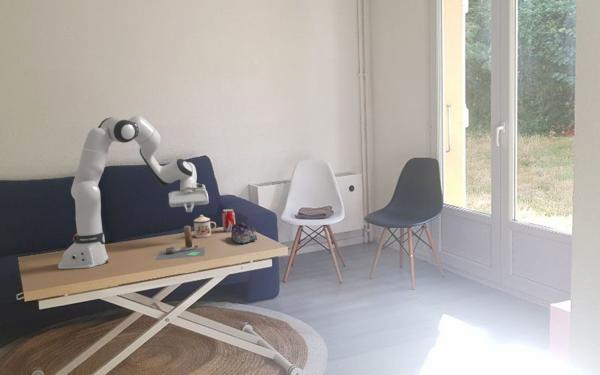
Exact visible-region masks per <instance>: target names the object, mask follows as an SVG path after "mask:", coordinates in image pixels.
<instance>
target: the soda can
mask: <svg viewBox="0 0 600 375" xmlns="http://www.w3.org/2000/svg"><path fill="white" fill-rule="evenodd" d="M221 220H222V230H223V231H224V232H226V233H231V232H232V228H231V226H233V225H234V224H236V214H235V211H234V208H228V209H227V208H226V209H223V210H222V213H221Z"/></svg>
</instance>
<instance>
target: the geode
mask: <svg viewBox="0 0 600 375" xmlns="http://www.w3.org/2000/svg"><path fill="white" fill-rule="evenodd" d="M231 228H232V232H230V233H231V237H230V238H231V240H232V241H234V242H235V243H237V244H241V245H245V244H247V243H251V242H253V241H257V240H258V236H257V235H258V234H257V231H256V229H255V228H254V227H253V226H249V225H247V224H245V223H244V222H243V221H242V220H240V222H237V221H235V224H234V225H233V226H231Z"/></svg>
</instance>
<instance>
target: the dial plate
mask: <svg viewBox="0 0 600 375" xmlns="http://www.w3.org/2000/svg"><path fill="white" fill-rule="evenodd" d="M205 251H206V247H205V246H202V247H201V246H200V247H197V248H190V249H184V250H178V251H175V253H173V254H166V250H159V252H158V253H157V256H156V258H155V261H163V260H172V259H182V258H183V259H185V258H193V257H194V258H195V257H204V256H205V253H206V252H205Z"/></svg>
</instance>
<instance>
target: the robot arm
mask: <svg viewBox="0 0 600 375" xmlns="http://www.w3.org/2000/svg"><path fill="white" fill-rule="evenodd" d="M160 134H161V133H159V131H158V129H156V128H155V127H154V126H153V125H152V124H151V123H150V122H149V121H148V120H146V119H145V118H144V117H142V116H140V115H134V116H132V117H130V118H129V119H123V118H120V117H107V118H105V119H103V120H102V121H101V122H100V124H99V125H98V126H97V127H93V128H91V129H90V130H89V132H88V133H87V135H86V138H85V141H84V144H83V146H82V150H81V155H80V158H79V164H78V166H77V169H76V172H75V175H74V179H73V182H72V185H71V188H70V194H71V196H72V198H73V199H74V204H75V206H74V207H75V224H76V225H75V226H76V233H75V234H74V236H73V237H72V241H73V243H72V244H71V245H70V246H68V248H67V249H66V250H65V251H64V252H63V255H62V260H61V262H59V263H58V264H57V269H58V270H65V269H67V270H69V269H70V270H71V269H90V268H93V267H96V266H100V265H103V264H104V265H105V264H106V263H108V262H109V261H108V259H109V255H108V253H107V250H106V246H105V242H106V241H105V233H104V231H103V225H102V224H103V222H102V214H101V212H102V211H101V210H102V205H101V204H102V203H101V190H100V188H99V182H100V181H101V177H102V175H103V173H104V170H105V166H106V162H107V159H108V154H109V148H110V146H111V145H112V143H113V142H116V143H123V144H125V143H129V142H132V141H133V140H134V141H135V143H137V145H138V146H139V155H140V156H141V159H142V160H143V161H144V163H145V164H146V166H147V167H148V168H149V170H150V171H151V172H152V174H153V177H154V178H155V180H156V182H157V184H159V185H161V186H165V187H167V186H169V185H171V184H173V183H174V182H177V181H178V180H179V182H180V183H179V190H178V189H177V190H171V191H170V192H169V193H168V195H167V196H168V197H167V198H168V205H169V207H170V208H177V207H179V208H180V207H183V208H184V209H185V212H186V213H192V212H193V210H194V207H195V206H203V205H204V206H205V205H208V204H209V203H210V201H209V195H208V191H207V190H206V185H205V184H203V183H202V184H201V183H199V182H198V183H197V180H198V175H197V169H196V166H195V164H193V163H192V162H189V161H187V160H185V159H184V158H178V159H175V160H173V161H171V162H170V163H167V164H165V165H160V164H159V162H158V160H157V159H156V158H155V156H154V154H155V152H157V150H158V149H159V147H160V145H161V142H162V138H161V135H160ZM188 206H189V207H188Z"/></svg>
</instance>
